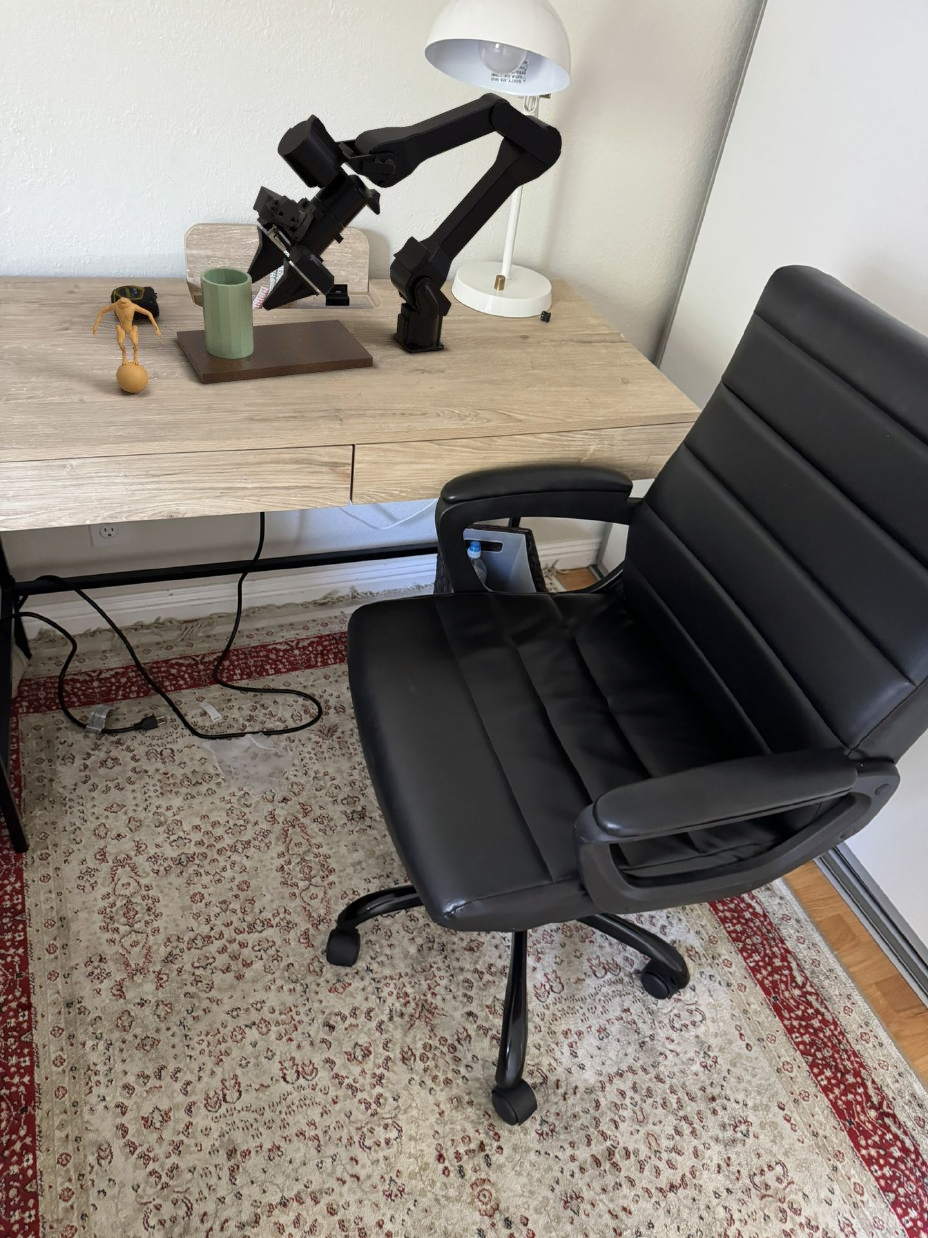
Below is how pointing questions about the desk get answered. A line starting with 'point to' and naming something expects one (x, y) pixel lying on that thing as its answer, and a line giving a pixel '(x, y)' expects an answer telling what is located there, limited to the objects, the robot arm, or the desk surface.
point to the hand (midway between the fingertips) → (255, 295)
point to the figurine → (128, 373)
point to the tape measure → (138, 299)
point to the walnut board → (280, 352)
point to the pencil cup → (227, 312)
